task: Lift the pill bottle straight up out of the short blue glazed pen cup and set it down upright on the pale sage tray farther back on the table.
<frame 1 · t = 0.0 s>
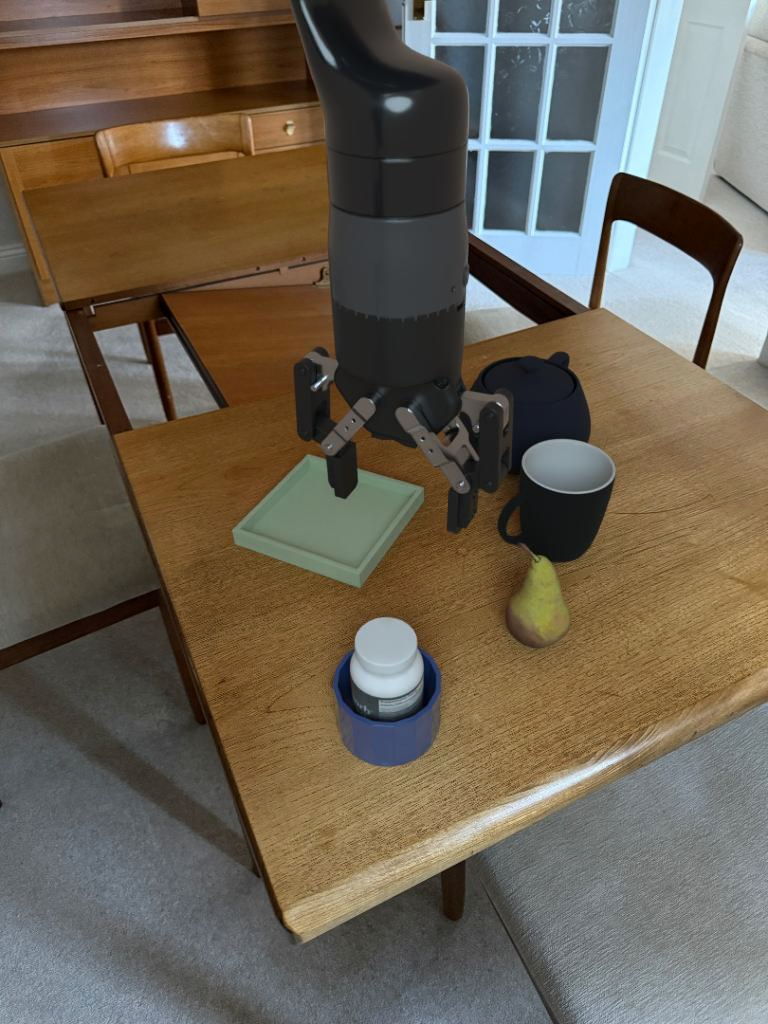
hand: (400, 508, 51), 20 cm above the table, tool pointing down, fingers open, 8 cm apart
mug: (543, 548, 77), on the table
fruit: (534, 638, 68), on the table
tray: (332, 522, 81), on the table
teapot: (517, 454, 90), on the table
pen cup: (388, 721, 61), on the table
pill bottle: (388, 719, 61), resting on pen cup
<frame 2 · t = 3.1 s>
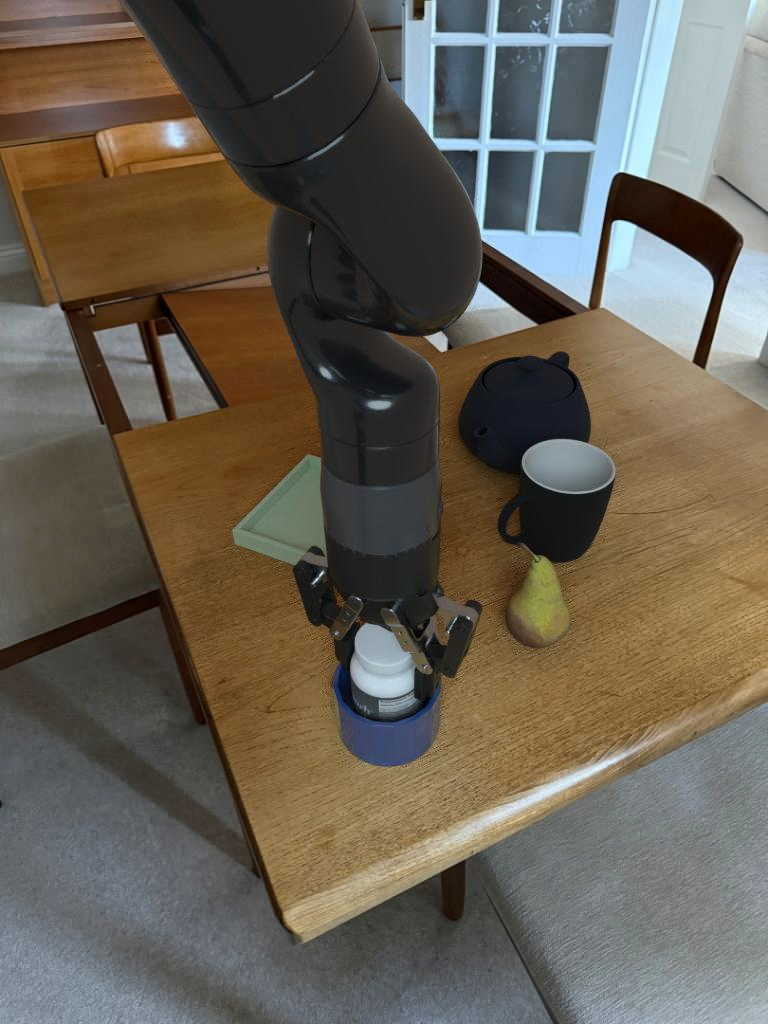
hand: (387, 676, 58), 6 cm above the table, tool pointing down, fingers closed on pill bottle, 5 cm apart
pill bottle: (388, 719, 61), resting on pen cup, touching gripper
everything else where it was.
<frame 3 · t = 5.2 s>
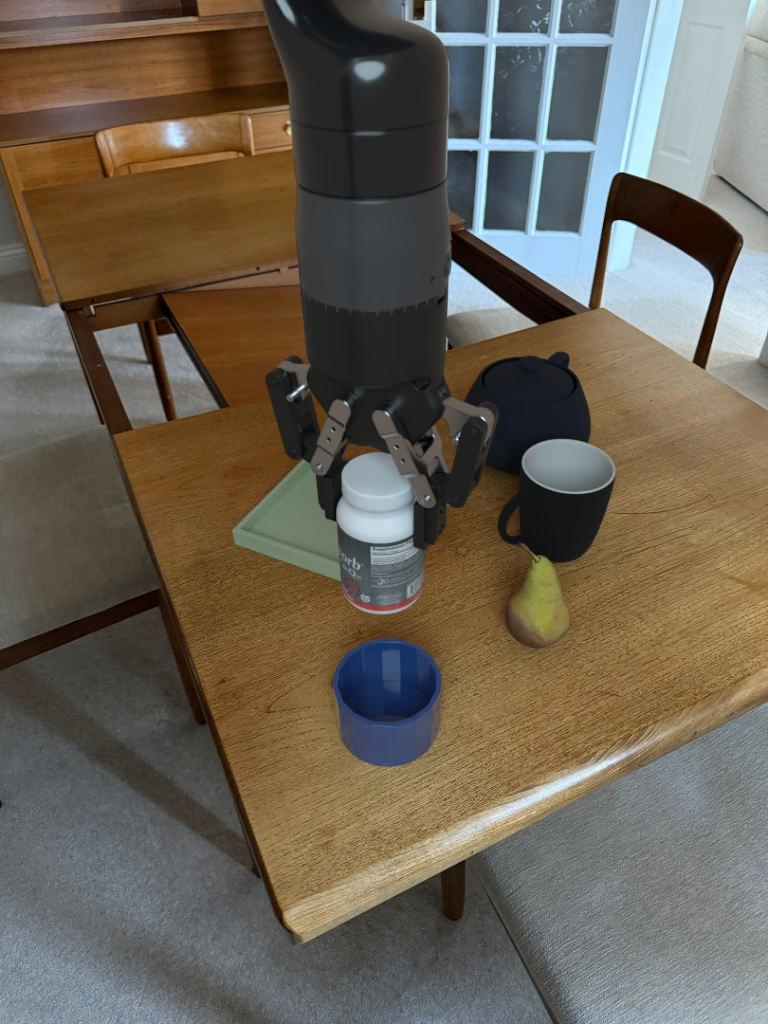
hand: (381, 526, 48), 21 cm above the table, tool pointing down, fingers closed on pill bottle, 5 cm apart
pill bottle: (382, 589, 52), point 16 cm above the table, touching gripper
everything else where it was.
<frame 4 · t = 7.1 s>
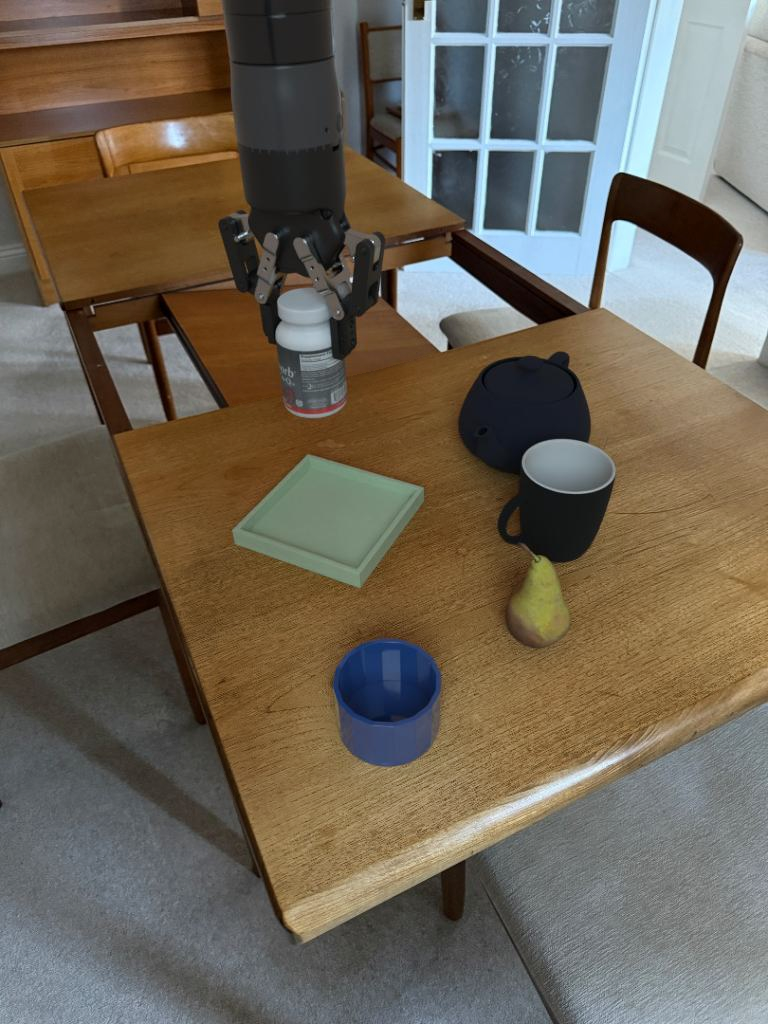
hand: (310, 347, 63), 23 cm above the table, tool pointing down, fingers closed on pill bottle, 5 cm apart
pill bottle: (316, 405, 67), point 17 cm above the table, touching gripper
everything else where it was.
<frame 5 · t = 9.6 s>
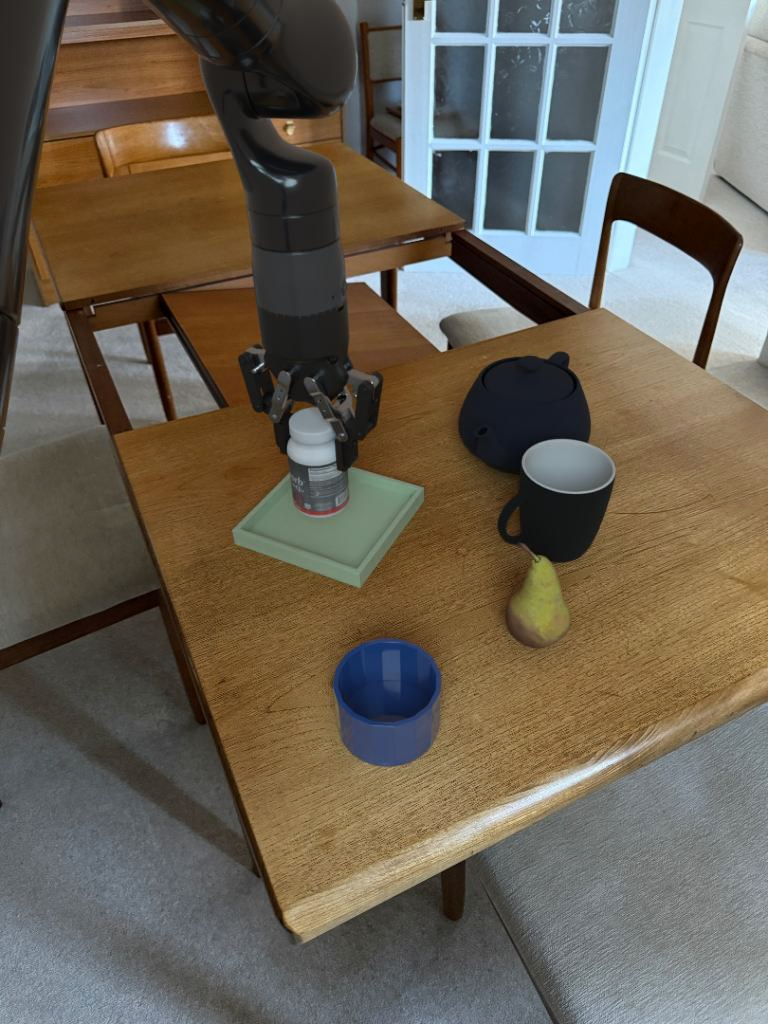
hand: (317, 458, 72), 11 cm above the table, tool pointing down, fingers closed on pill bottle, 5 cm apart
pill bottle: (322, 504, 75), point 5 cm above the table, touching gripper
everything else where it was.
when the fingers open (6 cm above the table, at t = 11.4 s): pill bottle stays where it is, resting on tray.
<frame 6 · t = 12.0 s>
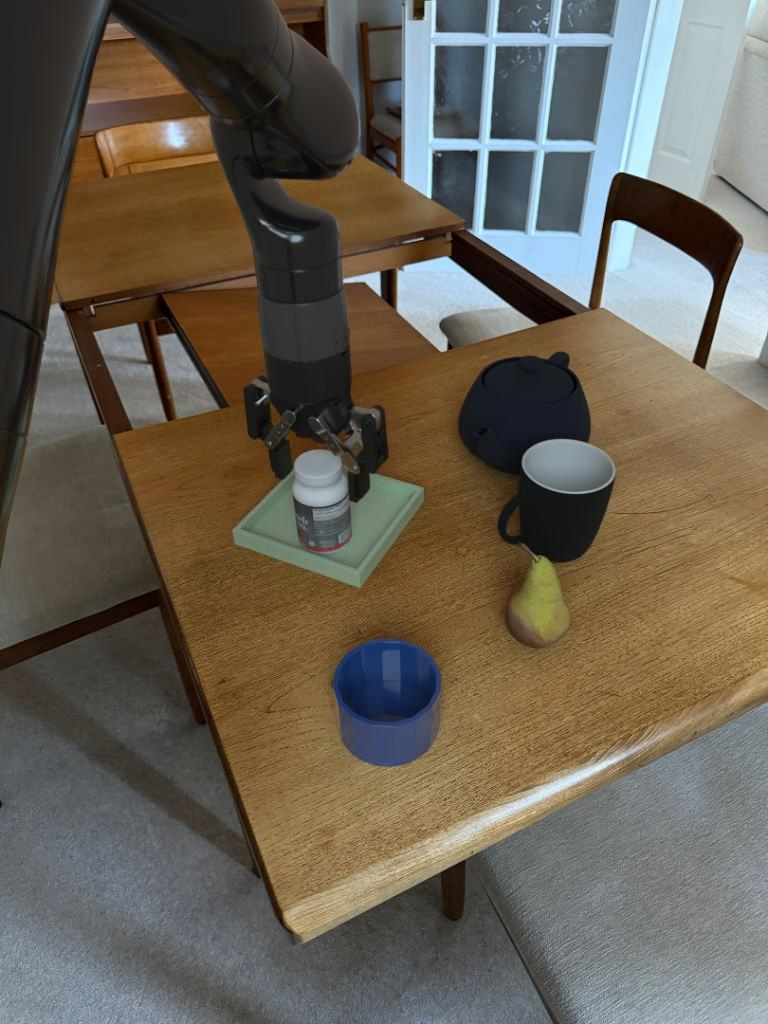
hand: (320, 486, 74), 7 cm above the table, tool pointing down, fingers open, 8 cm apart
pill bottle: (325, 539, 78), resting on tray
everything else where it was.
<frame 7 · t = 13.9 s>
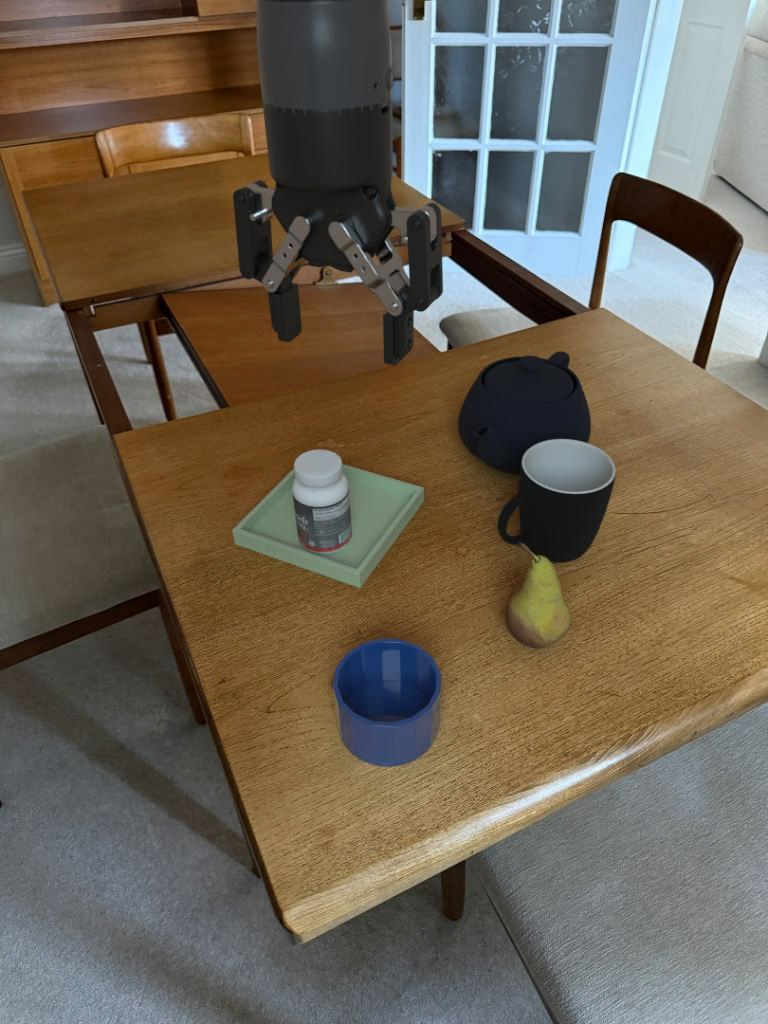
hand: (341, 348, 53), 28 cm above the table, tool pointing down, fingers open, 8 cm apart
nothing on the table moved.
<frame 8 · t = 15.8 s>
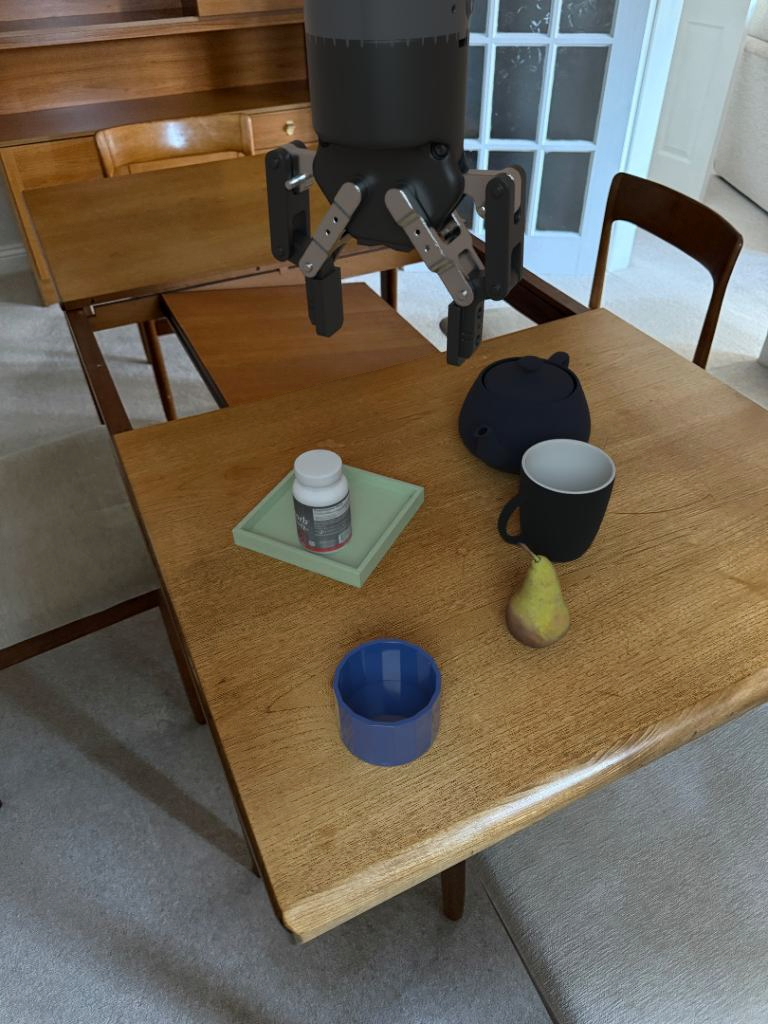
hand: (393, 345, 44), 32 cm above the table, tool pointing down, fingers open, 8 cm apart
nothing on the table moved.
at the end: pill bottle inside the target area in the tray (3.3 cm from its centre), point 0.3 cm above the tray's base; pill bottle tilted 0°; pill bottle touching tray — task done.
